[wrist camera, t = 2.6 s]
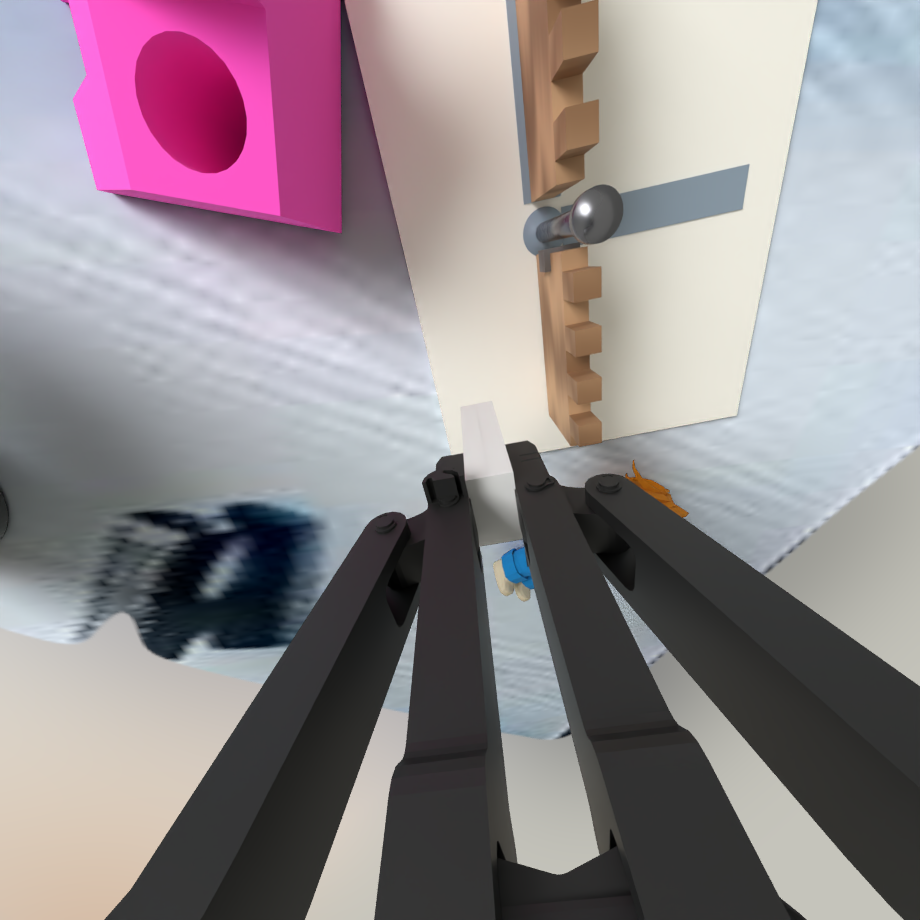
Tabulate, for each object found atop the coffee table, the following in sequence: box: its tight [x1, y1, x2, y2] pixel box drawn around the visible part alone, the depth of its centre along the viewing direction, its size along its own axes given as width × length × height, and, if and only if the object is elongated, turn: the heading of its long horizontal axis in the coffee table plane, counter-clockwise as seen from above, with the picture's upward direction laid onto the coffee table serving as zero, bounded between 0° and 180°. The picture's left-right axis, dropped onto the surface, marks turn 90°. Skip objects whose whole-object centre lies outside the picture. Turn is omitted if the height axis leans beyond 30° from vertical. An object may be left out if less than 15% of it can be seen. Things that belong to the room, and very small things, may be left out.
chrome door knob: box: [536, 184, 623, 245], centre depth 17 cm, size 2×2×8 cm
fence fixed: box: [515, 0, 599, 203], centre depth 14 cm, size 10×1×7 cm, turn 11°
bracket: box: [61, 0, 342, 233], centre depth 12 cm, size 12×10×10 cm
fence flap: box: [536, 242, 602, 447], centre depth 20 cm, size 10×2×7 cm, turn 11°
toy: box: [493, 459, 689, 601], centre depth 29 cm, size 12×6×15 cm
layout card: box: [344, 0, 818, 455], centre depth 20 cm, size 21×29×1 cm
